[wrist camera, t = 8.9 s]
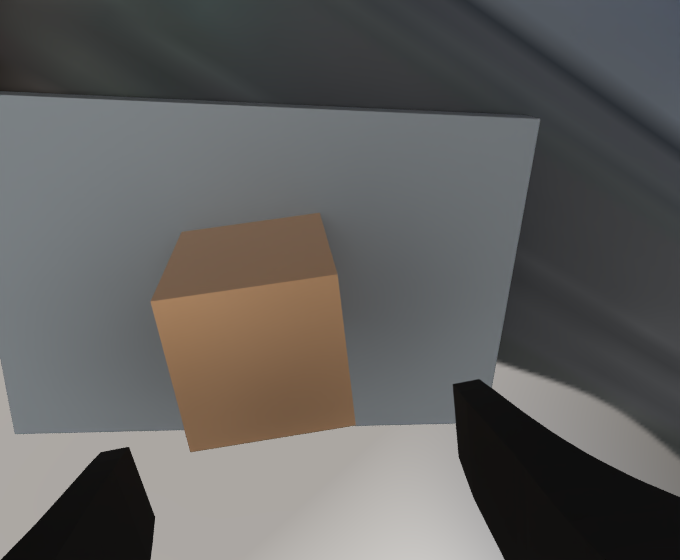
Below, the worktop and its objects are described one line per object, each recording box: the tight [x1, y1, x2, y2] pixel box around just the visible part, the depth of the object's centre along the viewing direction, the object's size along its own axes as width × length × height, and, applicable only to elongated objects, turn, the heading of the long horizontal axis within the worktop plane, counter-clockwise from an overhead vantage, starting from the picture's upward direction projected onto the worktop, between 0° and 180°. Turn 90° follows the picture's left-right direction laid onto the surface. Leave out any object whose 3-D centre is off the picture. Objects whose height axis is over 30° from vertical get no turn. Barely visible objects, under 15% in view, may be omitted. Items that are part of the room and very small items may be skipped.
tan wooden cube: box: [150, 213, 356, 452], centre depth 18 cm, size 5×5×6 cm
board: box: [0, 91, 540, 434], centre depth 19 cm, size 18×12×4 cm, turn 87°
